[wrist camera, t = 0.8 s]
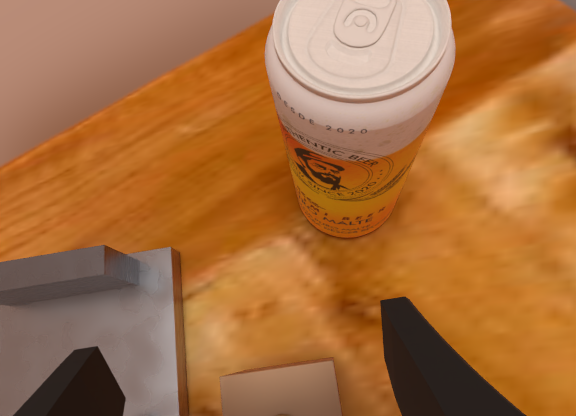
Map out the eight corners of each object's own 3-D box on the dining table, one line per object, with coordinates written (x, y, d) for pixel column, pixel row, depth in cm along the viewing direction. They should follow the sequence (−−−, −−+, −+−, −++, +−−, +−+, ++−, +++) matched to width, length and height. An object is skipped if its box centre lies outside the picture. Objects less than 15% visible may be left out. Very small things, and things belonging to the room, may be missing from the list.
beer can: (283, 220, 27) (226, 75, 12) (319, 139, 28) (303, -72, 14) (376, 255, 25) (429, 138, 11) (407, 168, 27) (490, -33, 13)
